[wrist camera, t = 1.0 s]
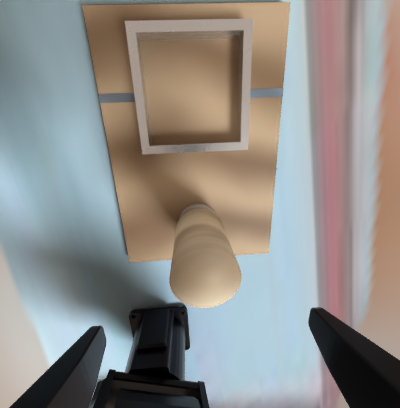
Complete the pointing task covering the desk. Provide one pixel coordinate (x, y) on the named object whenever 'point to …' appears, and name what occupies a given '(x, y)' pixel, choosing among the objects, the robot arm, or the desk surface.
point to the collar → (191, 31)
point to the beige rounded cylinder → (203, 259)
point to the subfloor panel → (191, 122)
